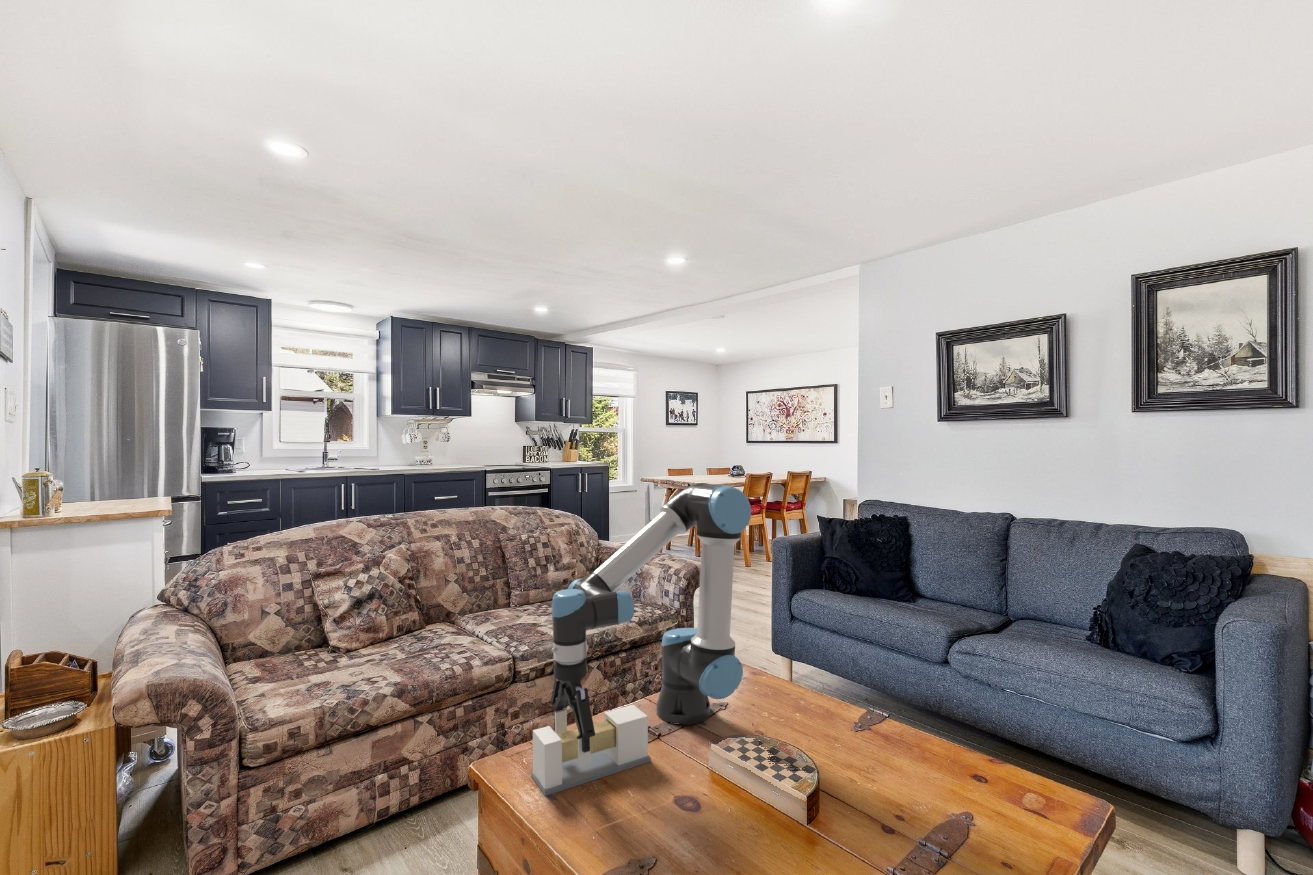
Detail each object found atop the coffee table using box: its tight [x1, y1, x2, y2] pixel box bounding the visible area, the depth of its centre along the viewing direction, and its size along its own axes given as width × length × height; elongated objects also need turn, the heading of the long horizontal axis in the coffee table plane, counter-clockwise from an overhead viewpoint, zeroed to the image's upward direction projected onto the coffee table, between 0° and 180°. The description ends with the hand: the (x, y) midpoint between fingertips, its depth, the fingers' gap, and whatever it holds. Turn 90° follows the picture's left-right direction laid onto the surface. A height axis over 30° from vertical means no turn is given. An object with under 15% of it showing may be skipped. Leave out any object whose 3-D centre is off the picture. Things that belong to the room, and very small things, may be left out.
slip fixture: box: [530, 704, 652, 797], centre depth 143 cm, size 26×9×11 cm, turn 121°
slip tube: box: [557, 720, 616, 763], centre depth 142 cm, size 18×4×4 cm, turn 121°
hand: (572, 750), depth 141 cm, fingers open, 13 cm apart
